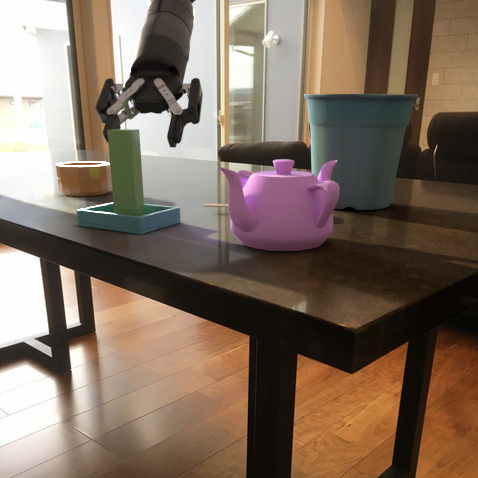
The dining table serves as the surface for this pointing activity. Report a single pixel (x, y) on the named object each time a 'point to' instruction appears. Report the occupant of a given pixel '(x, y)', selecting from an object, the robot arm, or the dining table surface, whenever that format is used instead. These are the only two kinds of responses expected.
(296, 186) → the teapot
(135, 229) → the tray
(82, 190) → the bowl
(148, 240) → the dining table surface
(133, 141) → the block
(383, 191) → the flower pot
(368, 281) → the dining table surface
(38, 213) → the dining table surface
